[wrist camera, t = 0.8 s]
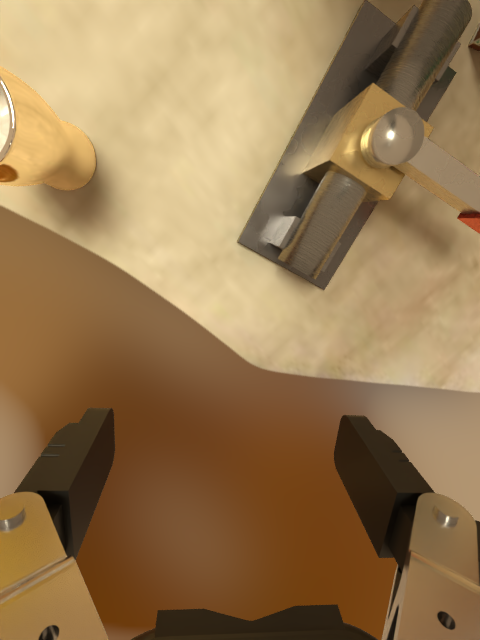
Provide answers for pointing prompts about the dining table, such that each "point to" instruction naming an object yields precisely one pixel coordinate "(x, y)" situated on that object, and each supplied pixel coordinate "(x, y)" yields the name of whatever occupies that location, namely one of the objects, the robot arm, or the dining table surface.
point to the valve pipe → (352, 136)
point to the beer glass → (39, 141)
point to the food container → (475, 39)
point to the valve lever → (422, 161)
